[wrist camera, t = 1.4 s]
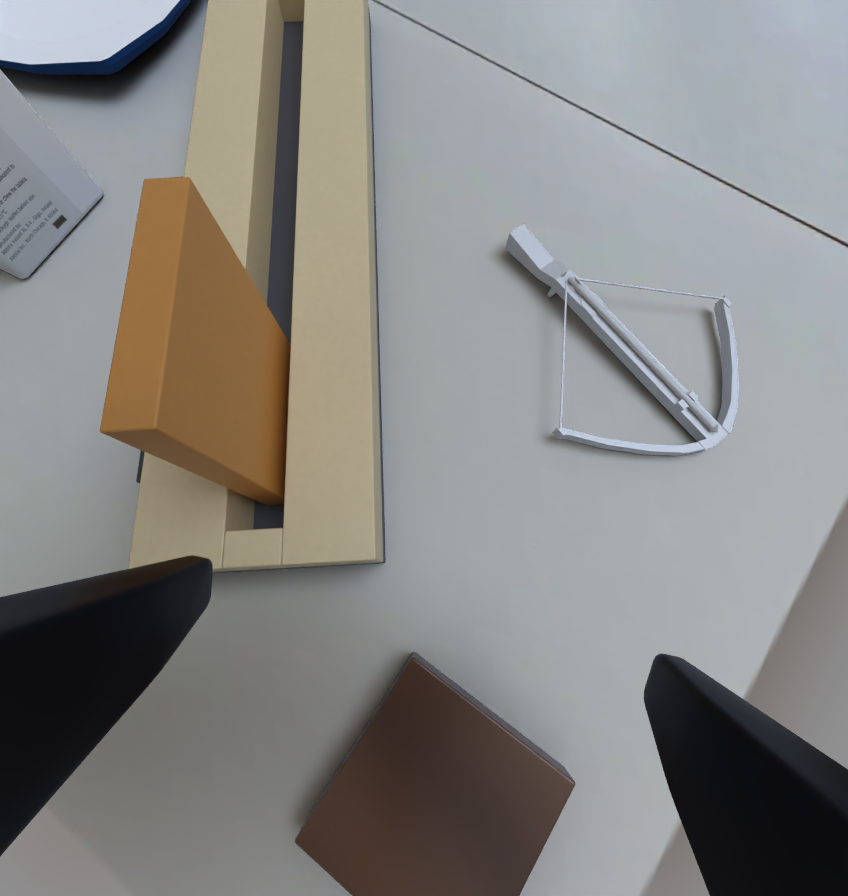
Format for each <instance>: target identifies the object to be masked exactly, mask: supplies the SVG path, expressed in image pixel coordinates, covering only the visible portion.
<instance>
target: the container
mask: <svg viewBox="0 0 848 896" xmlns="http://www.w3.org/2000/svg"><path fill="white" fill-rule="evenodd" d="M102 195H103V191H102V189H101V188H100V187H99V186H98V184H97V183H96V182H95V181H94V180H93V178H92V177H91V176H90V175H89V174H88V173H87V171H86V170H85V169H84V168H83V167H82V165H81V164H80V163H79V162H78V161H77V159H76V158H75V157H74V156H73V155H72V154H71V152H70V151H69V150H68V149H67V148H66V146H65V145H64V144H63V143H62V142H61V141H60V139H59V138H58V137H57V136H56V135H55V133H54V132H53V131H52V130H51V129H50V128H49V126H48V125H47V124H46V123H45V122H44V120H43V119H42V118H41V117H40V116H39V115H38V113H37V112H36V111H35V110H34V109H33V107H32V106H31V105H30V104H29V103H28V101H27V100H26V99H25V98H24V97H23V96H22V94H21V93H20V92H19V91H18V90H17V88H16V87H15V86H14V85H13V84H12V83H11V81H10V80H9V79H8V78H7V77H6V75H5V74H4V73H3V72H2V71H1V70H0V269H2V270H4V271H6V272H8V273H10V274H12V275H14V276H16V277H18V278H21V279H25V278H28V277H29V276H30V275H31V274H32V273H33V271H34V270H35V269H36V268H37V267H38V266H39V265H40V264H41V263H42V262H43V261H44V259H45V258H46V257H47V256H48V255H49V254H50V253H51V252H52V251H53V250H54V249H55V247H56V246H57V245H58V244H59V243H60V242H61V241H62V240H63V239H64V238H65V237H66V235H67V234H68V233H69V232H70V231H71V230H72V229H73V228H74V227H75V226H76V225H77V223H78V222H79V221H80V220H81V219H82V218H83V217H84V216H85V215H86V214H87V213H88V211H89V210H90V209H91V208H92V207H93V206H94V205H95V204H96V203H97V202H98V201H99V199H100V198H101V197H102Z"/></svg>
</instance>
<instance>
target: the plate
mask: <svg viewBox="0 0 848 896" xmlns="http://www.w3.org/2000/svg"><path fill="white" fill-rule="evenodd" d="M190 1H191V0H0V67H4V68H10V69H15V70H21V71H27V72H32V73H38V74H112V73H115V72H118V71H119V70H121V69H122V68H123V67H124V66H126V65H127V64H128V63H130V62H131V61H132V60H133V59H135V58H136V57H137V56H138V55H140V54H141V53H142V52H143V51H145V50H146V49H147V48H149V47H150V46H151V45H152V44H154V43H155V42H156V41H157V40H159V39H160V38H161V37H162V36H164V35H165V34H166V33H167V31H168V30H169V29H170V27H171V26H172V25H173V24H174V22H175V21H176V20H177V18H178V17H179V16H180V14H181V13H182V12H183V11H184V9H185V8H186V7H187V5H188V4H189V3H190Z"/></svg>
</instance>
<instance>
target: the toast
mask: <svg viewBox="0 0 848 896" xmlns="http://www.w3.org/2000/svg"><path fill="white" fill-rule="evenodd" d="M290 349H291V345H290V343H289V341H288V340H287V338H286V336H285V335H284V333H283V331H282V330H281V328H280V326H279V325H278V323H277V321H276V320H275V318H274V316H273V315H272V313H271V311H270V310H269V308H268V306H267V305H266V303H265V301H264V300H263V298H262V296H261V295H260V293H259V291H258V290H257V288H256V286H255V285H254V283H253V281H252V280H251V278H250V276H249V275H248V273H247V271H246V270H245V268H244V266H243V265H242V263H241V261H240V260H239V258H238V256H237V255H236V253H235V251H234V250H233V248H232V246H231V245H230V243H229V241H228V240H227V238H226V236H225V235H224V233H223V231H222V230H221V228H220V226H219V225H218V223H217V221H216V220H215V218H214V217H213V215H212V213H211V212H210V210H209V208H208V207H207V205H206V203H205V202H204V200H203V198H202V197H201V195H200V193H199V192H198V190H197V188H196V187H195V185H194V183H193V182H192V180H191V178H190V177H174V178H156V179H145V180H144V182H143V188H142V193H141V199H140V205H139V211H138V216H137V222H136V228H135V233H134V239H133V245H132V250H131V256H130V262H129V267H128V273H127V279H126V285H125V290H124V296H123V302H122V307H121V313H120V319H119V324H118V330H117V336H116V342H115V347H114V353H113V359H112V364H111V370H110V376H109V381H108V387H107V393H106V398H105V404H104V410H103V416H102V421H101V427H100V432H101V433H103V434H106V435H108V436H110V437H112V438H115V439H117V440H119V441H121V442H124V443H126V444H128V445H131V446H133V447H135V448H137V449H140V450H142V451H144V452H146V453H149V454H151V455H153V456H156V457H158V458H160V459H162V460H165V461H167V462H169V463H171V464H174V465H176V466H178V467H181V468H183V469H185V470H187V471H190V472H192V473H194V474H196V475H199V476H201V477H203V478H206V479H208V480H210V481H212V482H215V483H217V484H219V485H221V486H224V487H226V488H228V489H231V490H233V491H235V492H237V493H240V494H242V495H244V496H246V497H249V498H251V499H253V500H256V501H258V502H260V503H262V504H265V505H280V504H284V497H285V472H286V448H287V423H288V398H289V373H290Z"/></svg>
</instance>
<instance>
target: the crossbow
mask: <svg viewBox="0 0 848 896" xmlns="http://www.w3.org/2000/svg"><path fill="white" fill-rule="evenodd" d="M505 249H506V250H507V251H508V252H510V253H511V254H512V255H513V256H514V257H515V258H516V259H517V260H518V261H519V262H520V263H521V264H522V265H524V266H525V267H526V268H527V269H528V270H529V271H530V272H531V273H532V274H533V275H534V276H535V277H536V278H538V279H539V280H541V281H543V282H544V283H546V284H547V285H549V286H550V287H551V289H550V291H549V293H548V295H547V296H548V297H549V298H550V297H551V296H553V295H554V294H555V293H557V294H558V295H559V296H560V297H561V298H562V299H563V300H564V301H565V307H564V331H563V355H562V380H561V404H560V428H556V429H555V430H554V431H553V432H552V433H553V434H554V435H555V436H556V437H557V439H568V440H572V441H576V442H580V443H584V444H588V445H591V446H595V447H599V448H604V449H610V450H617V451H624V452H630V453H637V454H644V455H668V456H680V455H685V454H690V453H698V452H701V451H704V450H707V449H710V448H713V447H715V445H716V444H717V443H718V442H719V441H721V440H722V439H723V438H724V437H725V436H726V435H728V434H730V432H731V430H732V428H733V422H734V418H735V415H736V412H737V409H738V387H739V372H738V360H737V348H736V338H735V333H734V328H733V323H732V319H731V314H730V309H729V308H730V305H731V301H730V300H729V299H728V298H727V297H726V296H724V297H723V298H722V297H715V296H707V295H700V294H692V293H685V292H678V291H670V290H663V289H655V288H648V287H640V286H633V285H626V284H618V283H611V282H603V281H596V280H589V279H581V278H578V277H577V276H576V275H575V274H574V273H573V272H572V271H571V270H570V269H569V268H567V267H566V266H564V265H562V264H561V263H559V262H557V261H556V260H554V259H553V257H552V256H551V255H550V254H549V253H548V251H547V250H546V249H545V248H544V247H543V245H542V244H541V243H540V242H539V241H538V239H537V238H536V237H535V236H534V235H533V233H532V232H531V231H530V230H529V229H528V228H527V226H526V225H525V224H522V225H521V226H519V227H518V228H516V229H515V230H513V231H512V232H510V234H509V237H508V240H507V244H506V247H505ZM582 281H587V282H595V283H602V284H609V285H617V286H624V287H632V288H639V289H647V290H654V291H661V292H669V293H676V294H684V295H691V296H698V297H706V298H713V299H720V300H719V301H718V302H717V303H715V308H714V310H715V316H716V321H717V326H718V331H719V336H720V343H721V357H722V371H723V384H722V404H721V409H720V412H719V415H718V418H717V421H716V420H715V419H714V418H713V417H712V416H711V415H710V414H709V413H708V412H707V411H706V409H705V408H704V407H703V406H702V405H701V404H700V403H699V402H698V401H697V400H696V399H697V398H699V397H698V396H697V395H696V394H695V393H694V391H691V392H688V391H687V390H686V389H685V388H684V387H683V386H682V385H681V384H680V383H679V381H678V380H677V379H676V378H675V377H674V376H673V375H672V374H671V373H670V372H669V371H668V370H667V369H666V368H665V367H664V366H663V365H662V364H661V363H660V362H659V361H658V360H657V359H656V358H655V357H654V356H653V355H652V354H651V352H650V351H649V350H648V349H647V348H646V347H645V346H644V345H643V344H642V343H641V342H640V341H639V340H638V339H637V338H636V337H635V336H634V335H633V334H632V333H631V332H630V331H629V330H628V329H627V328H626V327H625V326H624V324H623V323H622V322H621V321H620V320H619V319H618V318H617V317H616V316H615V315H614V314H613V313H612V312H611V311H610V310H609V309H608V308H607V307H606V306H607V305H606V304H605V303H604V302H603V301H602V300H601V299H600V298H599V297H598V296H597V295H596V294H595V293H593V292H592V291H591V290H590V289H589V288H588V287H587V286H586V285H585V284H584V283H583V282H582ZM567 304H568V305H569V306H570V307H571V308H572V310H573V311H574V312H575V313H576V314H577V315H578V316H579V317H580V318H581V319H582V320H583V321H584V322H585V323H586V324H587V325H588V326H589V328H590V329H591V330H592V331H593V332H594V333H595V334H596V335H597V336H598V337H599V338H600V339H601V340H602V341H603V342H604V343H605V344H606V346H607V347H608V348H609V349H610V350H611V351H612V352H613V353H614V354H615V355H616V356H617V357H618V358H619V359H620V360H621V361H622V363H623V364H624V365H625V366H626V367H627V368H628V369H629V370H630V371H631V372H632V373H633V374H634V375H635V376H636V377H637V378H638V379H639V381H640V382H641V383H642V384H643V385H644V386H645V387H646V388H647V389H648V390H649V391H650V392H651V393H652V394H653V395H654V396H655V397H656V399H657V400H658V401H659V402H660V403H661V404H662V405H663V406H664V407H665V408H666V409H667V410H668V411H669V412H670V413H671V414H672V415H673V417H674V418H675V419H676V420H677V421H678V422H679V423H680V424H681V425H682V426H683V427H684V428H685V429H686V430H687V431H688V432H689V434H690V435H691V436H692V437H693V438H694V439H695V440H696V441H697V442H695V443H691V444H686V445H681V446H674V445H651V444H640V443H633V442H626V441H620V440H613V439H606V438H601V437H597V436H593V435H589V434H585V433H581V432H578V431H574V430H570V429H566V428H562V408H563V383H564V358H565V333H566V308H567Z"/></svg>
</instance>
